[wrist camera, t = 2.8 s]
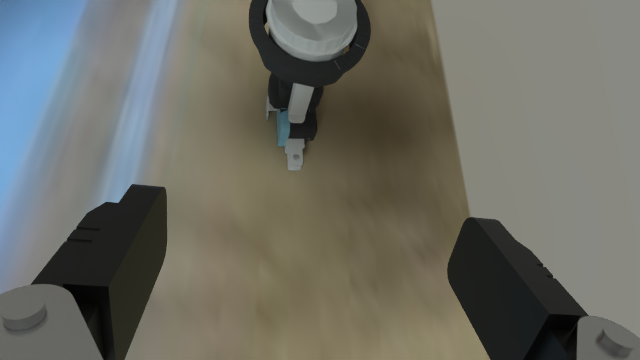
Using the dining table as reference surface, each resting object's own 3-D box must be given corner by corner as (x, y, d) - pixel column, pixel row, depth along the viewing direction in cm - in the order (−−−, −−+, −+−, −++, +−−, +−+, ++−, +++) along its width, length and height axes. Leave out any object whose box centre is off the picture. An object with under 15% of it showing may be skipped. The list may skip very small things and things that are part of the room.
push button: (334, 173, 25) (387, 93, 16) (247, 173, 24) (250, 88, 15) (327, 79, 27) (370, -41, 18) (247, 76, 26) (248, -54, 17)
